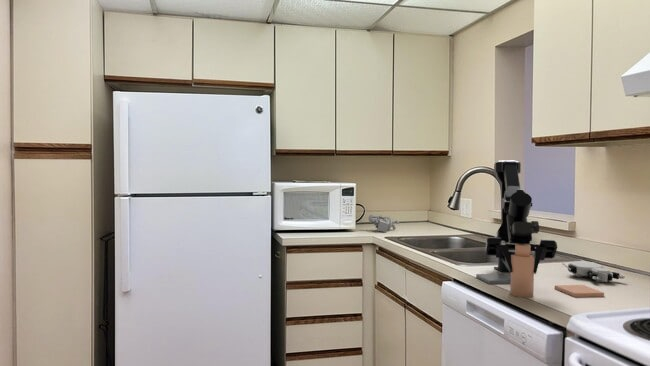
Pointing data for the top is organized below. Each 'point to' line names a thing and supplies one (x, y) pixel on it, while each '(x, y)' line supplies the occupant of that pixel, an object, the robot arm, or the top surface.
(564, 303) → the top surface
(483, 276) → the slate tile
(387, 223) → the figurine
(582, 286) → the terracotta tile
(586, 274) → the robot toy
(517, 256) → the terracotta vase
